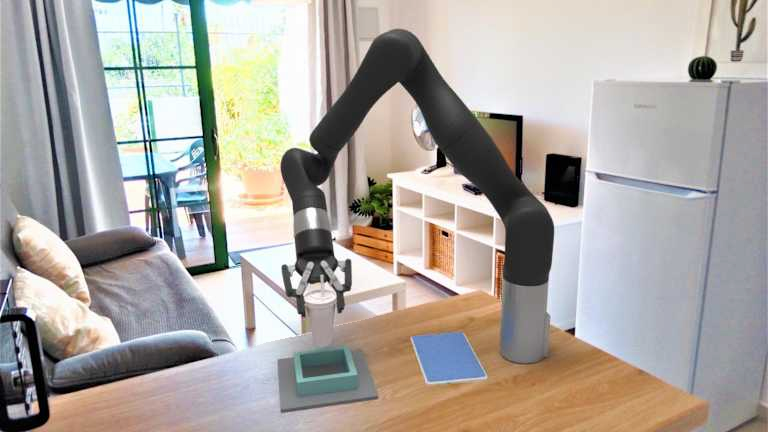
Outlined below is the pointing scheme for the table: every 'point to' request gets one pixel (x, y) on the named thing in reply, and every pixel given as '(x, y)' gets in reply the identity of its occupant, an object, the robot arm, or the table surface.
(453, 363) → the tablet computer
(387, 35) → the robot arm
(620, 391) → the table surface
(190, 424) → the table surface
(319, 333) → the smoothie
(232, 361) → the table surface
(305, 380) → the holder
